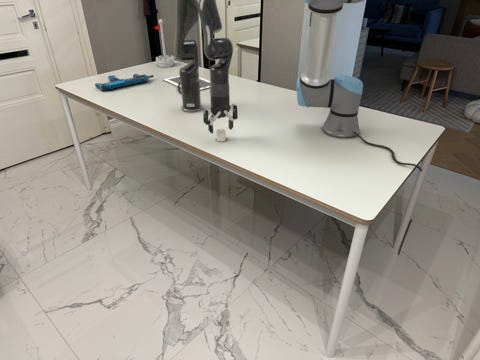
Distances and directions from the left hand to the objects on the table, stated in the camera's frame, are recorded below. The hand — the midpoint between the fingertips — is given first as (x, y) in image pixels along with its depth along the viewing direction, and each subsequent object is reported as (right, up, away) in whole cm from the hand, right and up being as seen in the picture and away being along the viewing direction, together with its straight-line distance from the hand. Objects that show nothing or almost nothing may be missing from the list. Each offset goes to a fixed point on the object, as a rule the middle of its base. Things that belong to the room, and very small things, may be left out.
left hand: (221, 130), depth 141 cm
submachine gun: (-64, +39, +68) cm, 101 cm away
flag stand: (-45, +62, +102) cm, 127 cm away
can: (0, -3, +2) cm, 4 cm away
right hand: (+45, +52, +21) cm, 72 cm away
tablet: (-22, +39, +67) cm, 81 cm away
